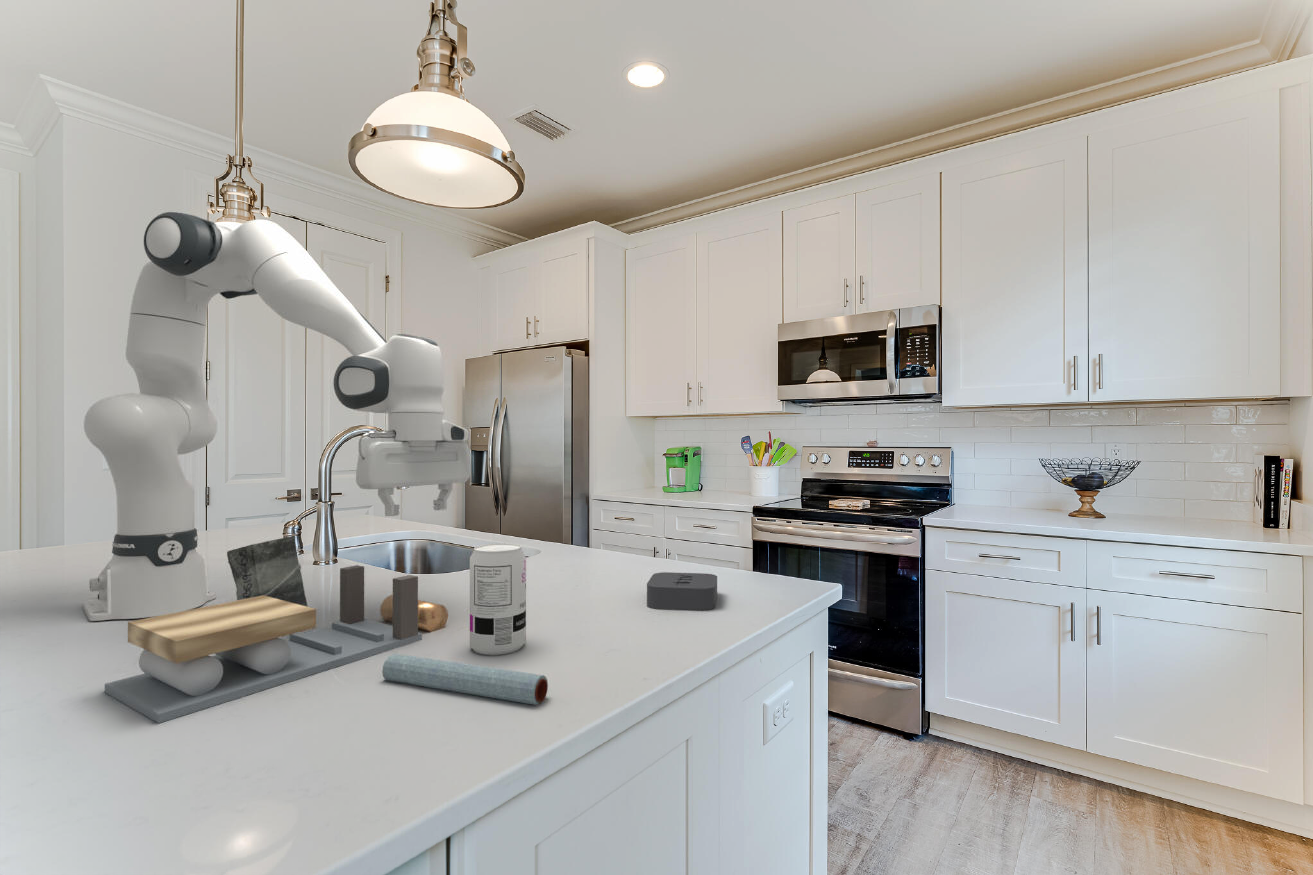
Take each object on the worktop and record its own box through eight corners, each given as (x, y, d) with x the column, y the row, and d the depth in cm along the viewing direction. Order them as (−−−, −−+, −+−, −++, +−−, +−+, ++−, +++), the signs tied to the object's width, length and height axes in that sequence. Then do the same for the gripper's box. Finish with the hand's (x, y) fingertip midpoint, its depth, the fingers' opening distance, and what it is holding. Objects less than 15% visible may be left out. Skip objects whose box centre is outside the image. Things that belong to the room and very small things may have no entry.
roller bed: (104, 691, 78) (104, 611, 78) (361, 623, 107) (361, 564, 107) (158, 723, 69) (158, 632, 69) (421, 639, 98) (421, 575, 98)
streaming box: (714, 614, 113) (714, 589, 113) (644, 611, 115) (644, 586, 115) (717, 596, 126) (717, 573, 126) (654, 594, 128) (654, 571, 128)
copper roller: (383, 625, 108) (377, 602, 107) (405, 612, 112) (399, 590, 111) (429, 637, 102) (422, 612, 101) (450, 623, 105) (444, 599, 104)
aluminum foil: (549, 699, 77) (549, 671, 77) (519, 722, 71) (519, 692, 71) (400, 675, 85) (400, 649, 85) (361, 694, 78) (361, 667, 78)
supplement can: (458, 647, 94) (458, 547, 94) (506, 635, 101) (506, 541, 101) (488, 660, 89) (488, 554, 89) (536, 646, 95) (536, 547, 95)
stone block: (238, 641, 98) (262, 635, 96) (220, 550, 99) (243, 543, 97) (289, 625, 106) (312, 619, 105) (271, 541, 108) (294, 534, 106)
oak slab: (127, 641, 79) (127, 622, 79) (263, 612, 93) (263, 595, 93) (176, 663, 72) (176, 641, 72) (316, 627, 85) (316, 609, 85)
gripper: (371, 430, 96) (371, 520, 96) (475, 431, 113) (476, 508, 113) (347, 430, 100) (347, 518, 100) (452, 431, 117) (452, 506, 117)
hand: (417, 512), depth 107 cm, fingers open, 8 cm apart
